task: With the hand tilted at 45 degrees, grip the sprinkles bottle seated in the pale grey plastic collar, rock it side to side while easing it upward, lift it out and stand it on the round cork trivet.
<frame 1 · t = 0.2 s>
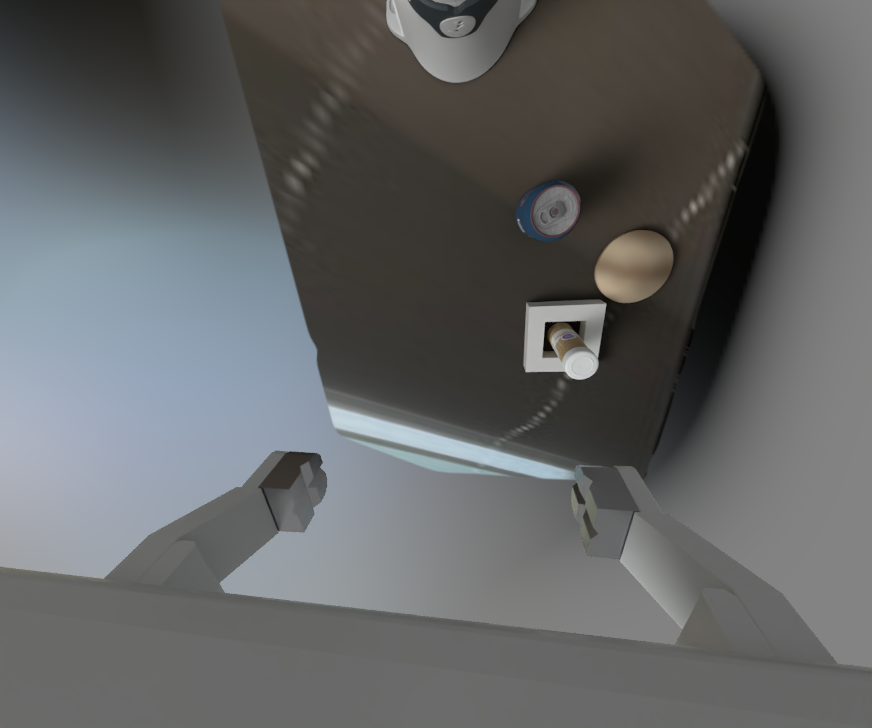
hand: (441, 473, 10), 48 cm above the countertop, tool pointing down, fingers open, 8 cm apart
sprinkles bottle: (559, 333, 56), resting in collar
collar: (559, 334, 56), on the countertop
soda can: (537, 212, 49), on the countertop
trivet: (630, 267, 50), on the countertop
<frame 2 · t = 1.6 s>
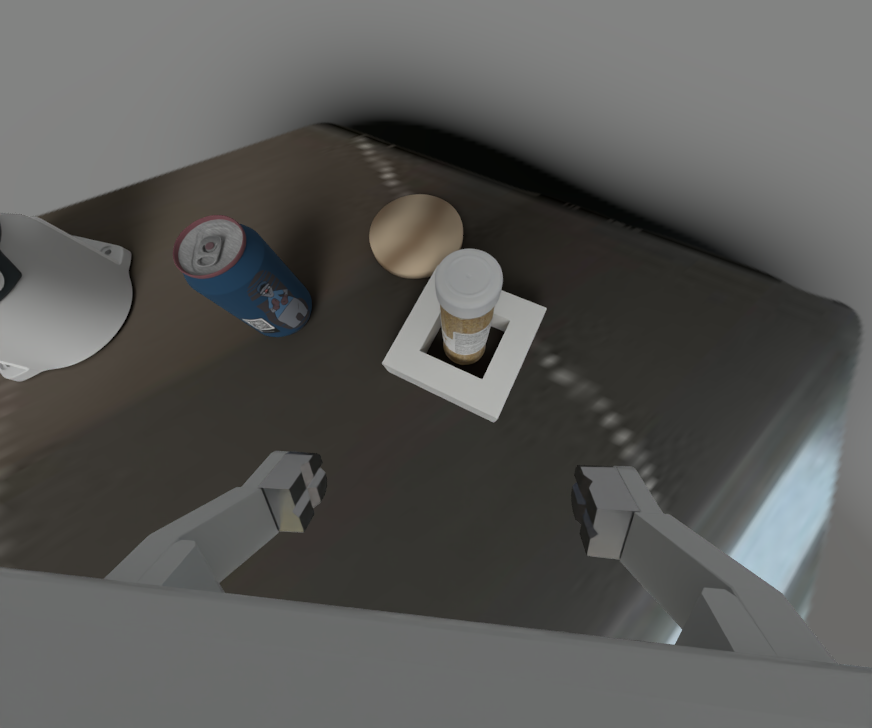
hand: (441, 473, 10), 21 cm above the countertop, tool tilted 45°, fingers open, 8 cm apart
sprinkles bottle: (464, 346, 34), resting in collar
collar: (464, 346, 33), on the countertop
soda can: (288, 313, 36), on the countertop
trivet: (417, 238, 38), on the countertop
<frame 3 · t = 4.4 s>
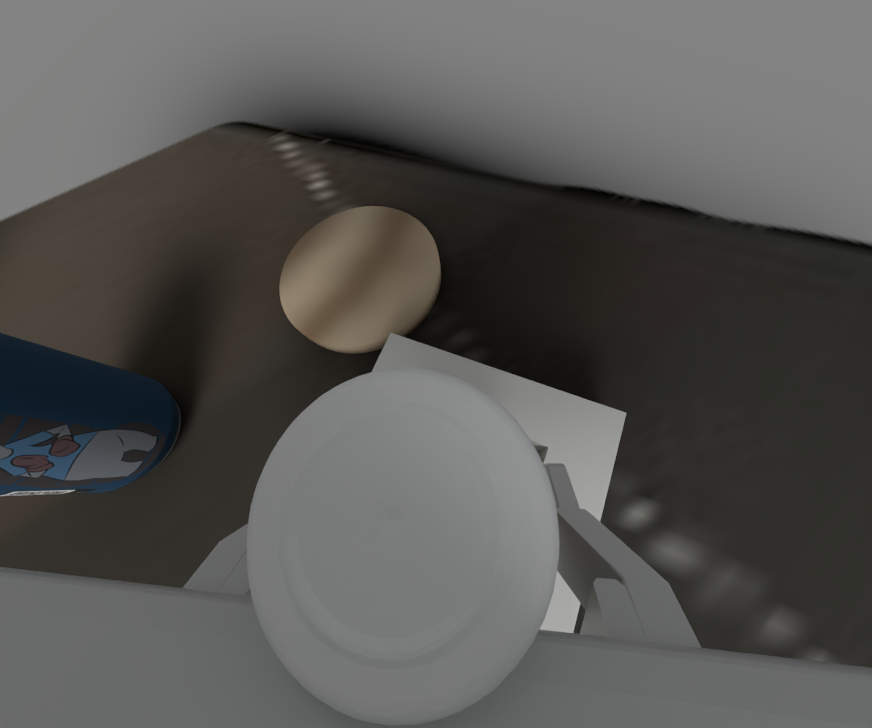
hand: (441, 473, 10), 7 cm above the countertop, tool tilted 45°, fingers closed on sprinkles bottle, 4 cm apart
sprinkles bottle: (457, 487, 17), resting in collar, touching gripper
collar: (457, 487, 17), on the countertop
soda can: (144, 434, 21), on the countertop
trivet: (363, 280, 22), on the countertop
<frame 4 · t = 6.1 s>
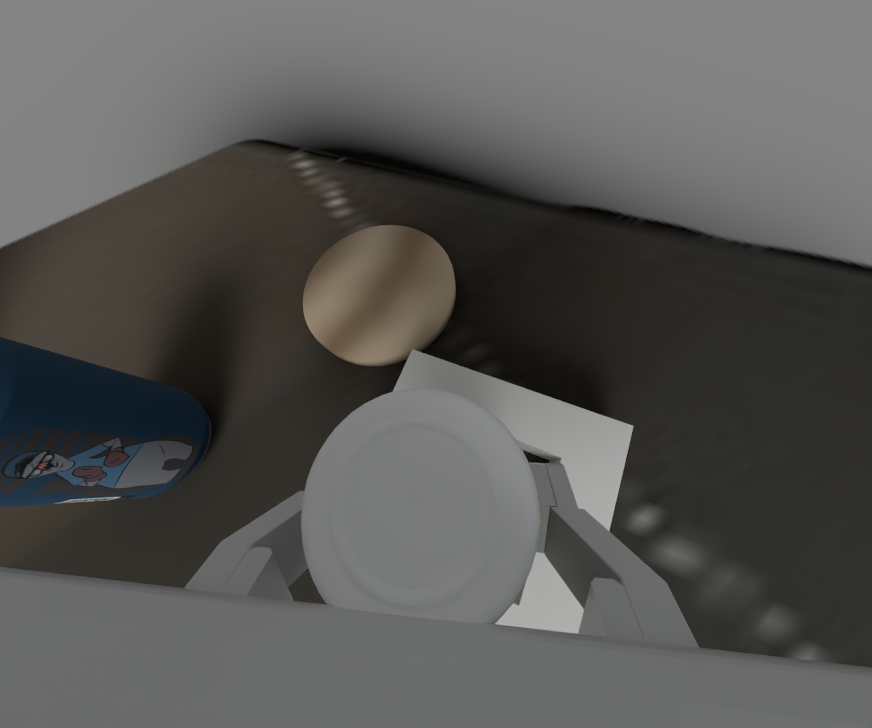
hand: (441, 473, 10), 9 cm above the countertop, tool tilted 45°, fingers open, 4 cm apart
sprinkles bottle: (456, 491, 18), resting in collar
collar: (474, 493, 18), on the countertop
soda can: (176, 442, 22), on the countertop
trivet: (381, 296, 23), on the countertop
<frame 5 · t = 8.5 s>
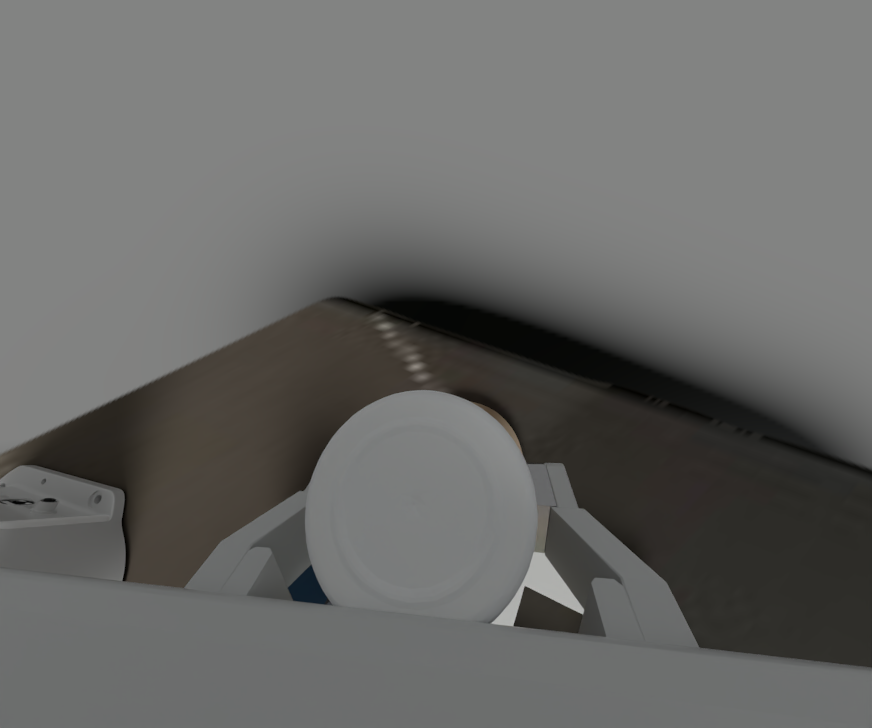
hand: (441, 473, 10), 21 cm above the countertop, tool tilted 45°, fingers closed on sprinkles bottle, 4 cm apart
sprinkles bottle: (458, 490, 18), point 12 cm above the countertop, touching gripper
collar: (549, 639, 25), on the countertop
soda can: (311, 581, 29), on the countertop
trivet: (462, 460, 30), on the countertop
when the fingers open (10 cm above the countertop, at t = 11.3 s): sprinkles bottle stays where it is, resting on trivet.
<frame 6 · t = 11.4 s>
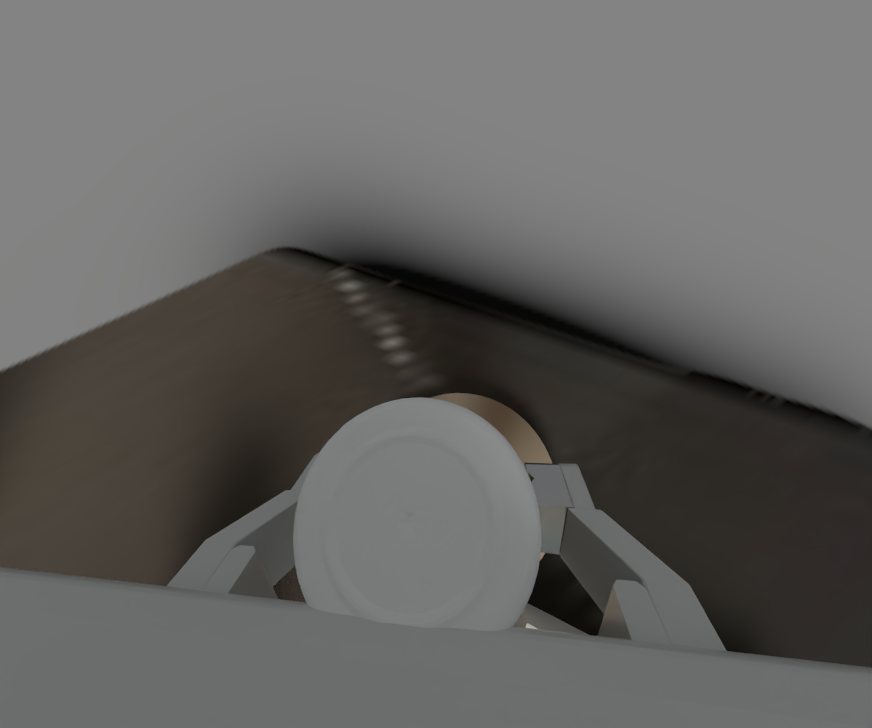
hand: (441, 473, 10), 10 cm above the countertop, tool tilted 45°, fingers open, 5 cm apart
sprinkles bottle: (458, 491, 18), point 1 cm above the countertop, touching trivet
trivet: (459, 485, 19), on the countertop
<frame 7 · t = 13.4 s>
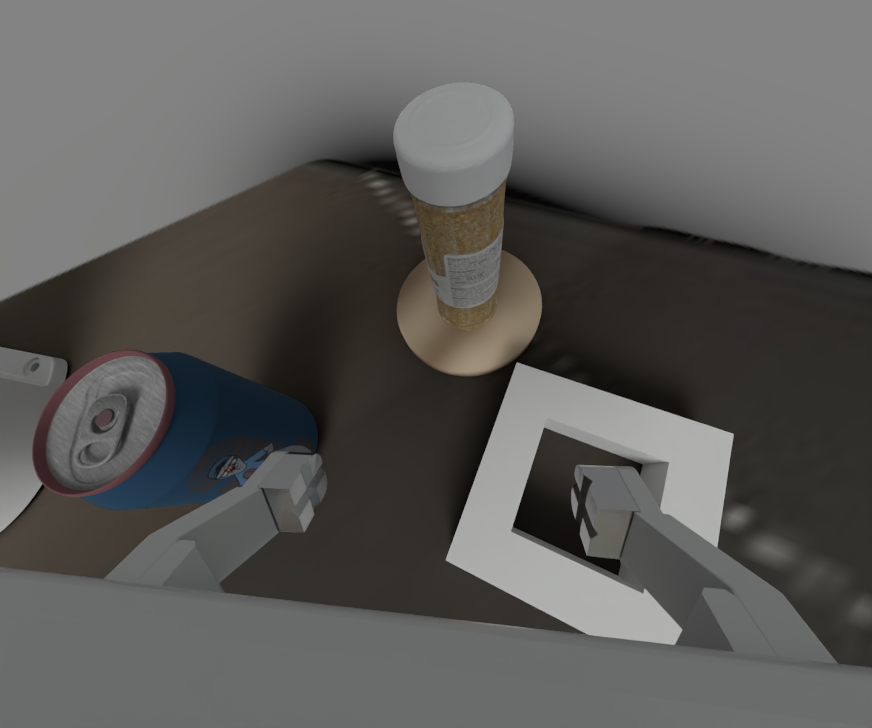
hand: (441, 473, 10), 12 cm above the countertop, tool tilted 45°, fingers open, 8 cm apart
sprinkles bottle: (467, 307, 24), point 1 cm above the countertop, touching trivet
collar: (574, 494, 20), on the countertop
soda can: (283, 446, 24), on the countertop
trivet: (467, 310, 25), on the countertop
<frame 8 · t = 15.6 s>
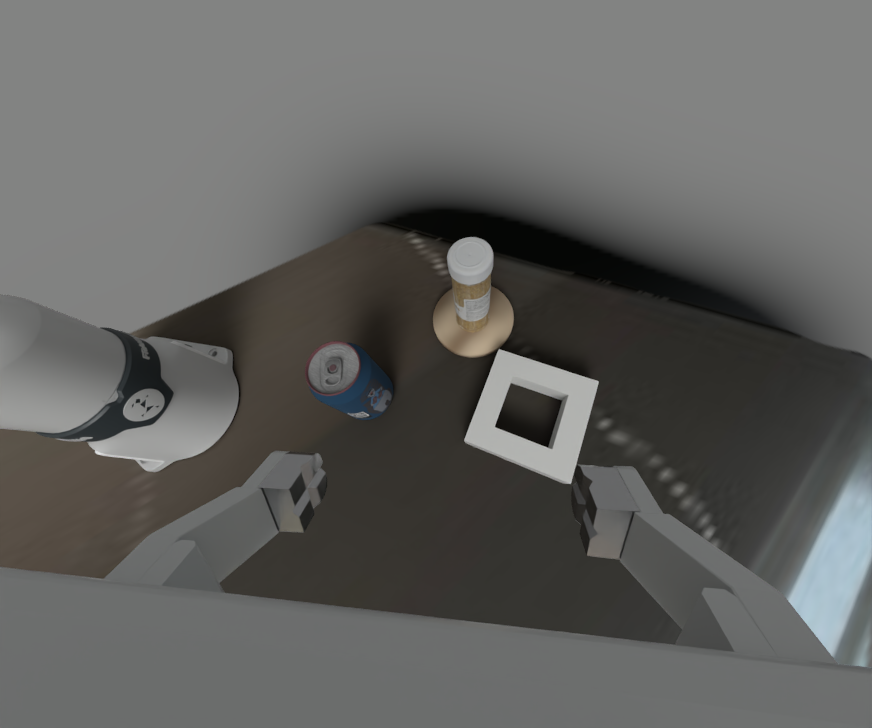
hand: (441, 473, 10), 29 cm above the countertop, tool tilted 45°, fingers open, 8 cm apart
sprinkles bottle: (472, 319, 43), point 1 cm above the countertop, touching trivet
collar: (527, 415, 39), on the countertop
soda can: (371, 396, 43), on the countertop
trivet: (472, 321, 44), on the countertop
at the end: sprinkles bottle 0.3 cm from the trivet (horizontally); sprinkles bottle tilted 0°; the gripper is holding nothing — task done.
